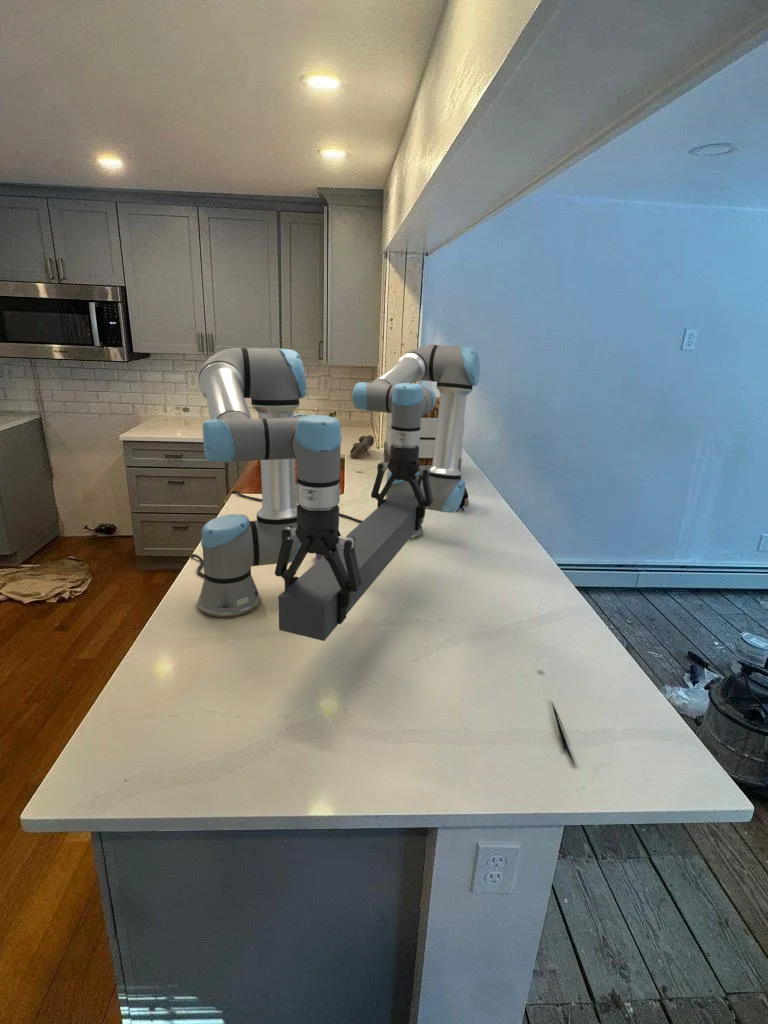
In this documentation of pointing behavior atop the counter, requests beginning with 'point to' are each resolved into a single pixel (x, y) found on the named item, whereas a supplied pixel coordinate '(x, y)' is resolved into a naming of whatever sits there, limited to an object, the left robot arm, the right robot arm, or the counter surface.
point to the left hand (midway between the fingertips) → (317, 615)
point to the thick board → (316, 591)
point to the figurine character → (464, 500)
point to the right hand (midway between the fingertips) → (400, 525)
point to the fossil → (362, 446)
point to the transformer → (421, 437)
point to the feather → (562, 734)
